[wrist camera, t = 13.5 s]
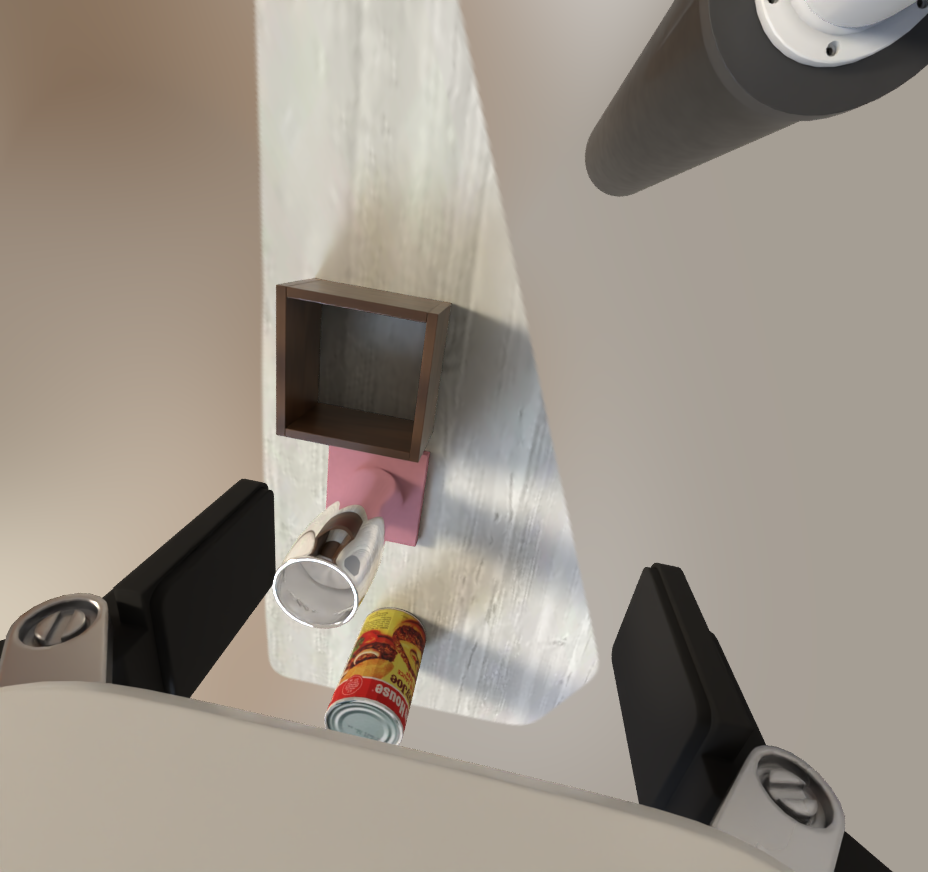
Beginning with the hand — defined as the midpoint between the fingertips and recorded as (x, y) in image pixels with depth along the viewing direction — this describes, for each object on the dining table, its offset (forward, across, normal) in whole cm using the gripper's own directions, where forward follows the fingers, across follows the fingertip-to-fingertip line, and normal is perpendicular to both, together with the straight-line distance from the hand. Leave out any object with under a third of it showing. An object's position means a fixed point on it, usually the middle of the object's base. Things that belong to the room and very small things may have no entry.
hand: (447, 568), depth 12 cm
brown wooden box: (+32, +11, +5) cm, 34 cm away
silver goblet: (+31, +10, +19) cm, 37 cm away
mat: (+32, +10, +19) cm, 38 cm away
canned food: (+32, +6, +38) cm, 50 cm away
